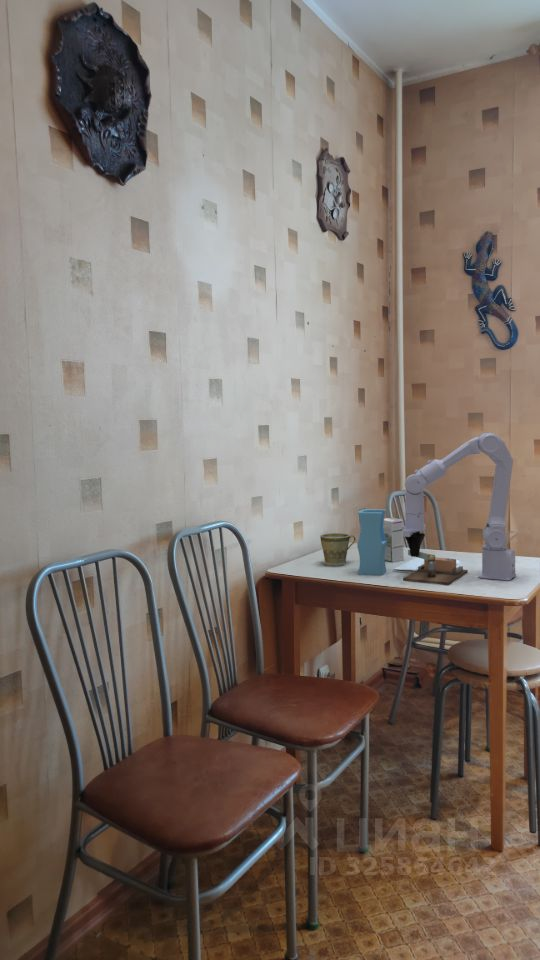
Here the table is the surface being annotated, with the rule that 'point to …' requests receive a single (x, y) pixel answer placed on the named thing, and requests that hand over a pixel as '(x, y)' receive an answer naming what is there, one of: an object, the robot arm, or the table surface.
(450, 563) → the brown rectangular block
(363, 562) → the vase
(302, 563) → the table surface
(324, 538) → the ceramic cup
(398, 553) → the syrup box
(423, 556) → the keeper bar
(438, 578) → the keeper board
